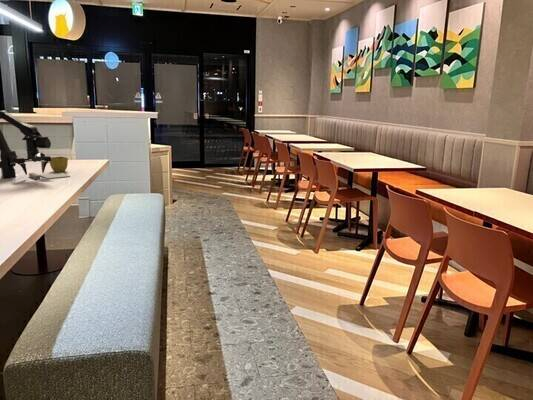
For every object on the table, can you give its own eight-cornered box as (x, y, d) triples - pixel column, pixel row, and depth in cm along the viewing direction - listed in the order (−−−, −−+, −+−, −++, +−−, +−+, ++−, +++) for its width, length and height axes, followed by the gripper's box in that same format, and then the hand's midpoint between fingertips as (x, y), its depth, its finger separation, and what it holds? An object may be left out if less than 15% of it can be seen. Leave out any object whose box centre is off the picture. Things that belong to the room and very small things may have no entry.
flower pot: (56, 172, 280) (54, 159, 278) (49, 171, 286) (48, 157, 283) (69, 171, 287) (68, 157, 285) (62, 169, 292) (61, 156, 290)
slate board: (47, 179, 259) (47, 178, 259) (39, 175, 269) (39, 174, 269) (70, 176, 268) (69, 175, 268) (60, 173, 278) (60, 172, 278)
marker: (35, 179, 257) (35, 175, 256) (29, 176, 265) (28, 172, 265) (40, 179, 258) (40, 175, 258) (33, 176, 267) (33, 172, 266)
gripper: (19, 150, 245) (21, 177, 248) (53, 148, 258) (56, 174, 261) (13, 148, 252) (15, 174, 256) (47, 146, 265) (49, 171, 269)
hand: (34, 173), depth 260 cm, fingers open, 9 cm apart
